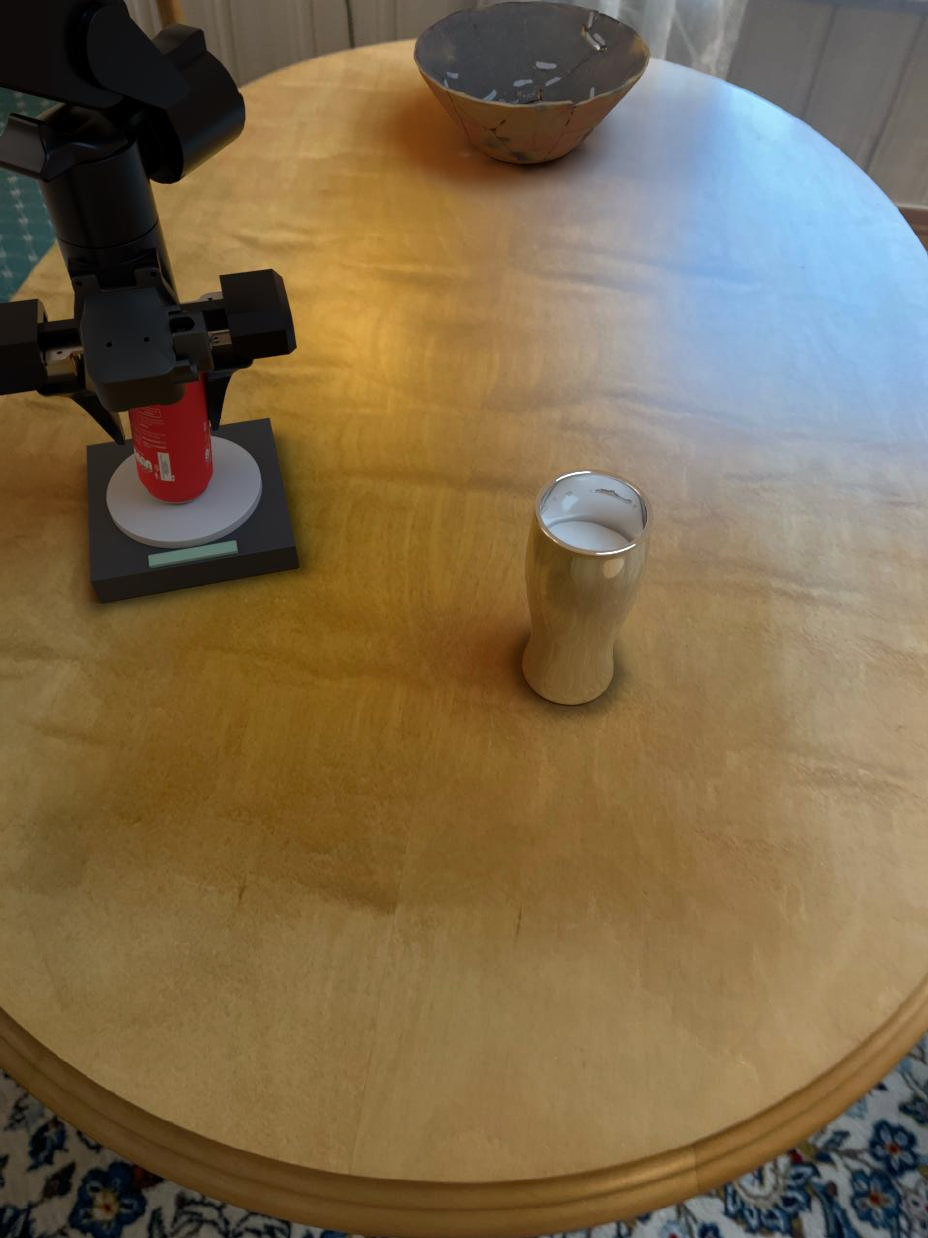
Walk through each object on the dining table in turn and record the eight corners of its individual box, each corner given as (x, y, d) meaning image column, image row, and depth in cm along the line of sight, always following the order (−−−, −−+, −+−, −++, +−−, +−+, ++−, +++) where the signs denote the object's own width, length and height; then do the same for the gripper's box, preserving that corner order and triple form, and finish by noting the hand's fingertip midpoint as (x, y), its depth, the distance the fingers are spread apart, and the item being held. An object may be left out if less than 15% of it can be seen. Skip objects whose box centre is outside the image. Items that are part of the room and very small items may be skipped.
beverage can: (132, 464, 71) (109, 322, 61) (203, 452, 72) (191, 312, 63) (148, 513, 68) (126, 372, 59) (222, 499, 70) (212, 361, 60)
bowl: (526, 72, 120) (532, -19, 112) (681, 146, 109) (699, 50, 101) (368, 136, 110) (362, 40, 102) (522, 225, 99) (529, 125, 91)
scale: (99, 603, 68) (86, 573, 65) (94, 468, 76) (82, 437, 73) (299, 567, 70) (294, 537, 67) (273, 440, 78) (268, 408, 76)
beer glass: (567, 730, 62) (595, 578, 50) (493, 663, 65) (504, 504, 53) (641, 672, 65) (684, 514, 53) (567, 610, 68) (592, 448, 56)
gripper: (-84, 328, 48) (24, 542, 60) (293, 279, 51) (323, 492, 63) (-67, 212, 55) (27, 426, 67) (266, 174, 58) (297, 386, 70)
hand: (168, 434), depth 67 cm, fingers closed on beverage can, 6 cm apart
